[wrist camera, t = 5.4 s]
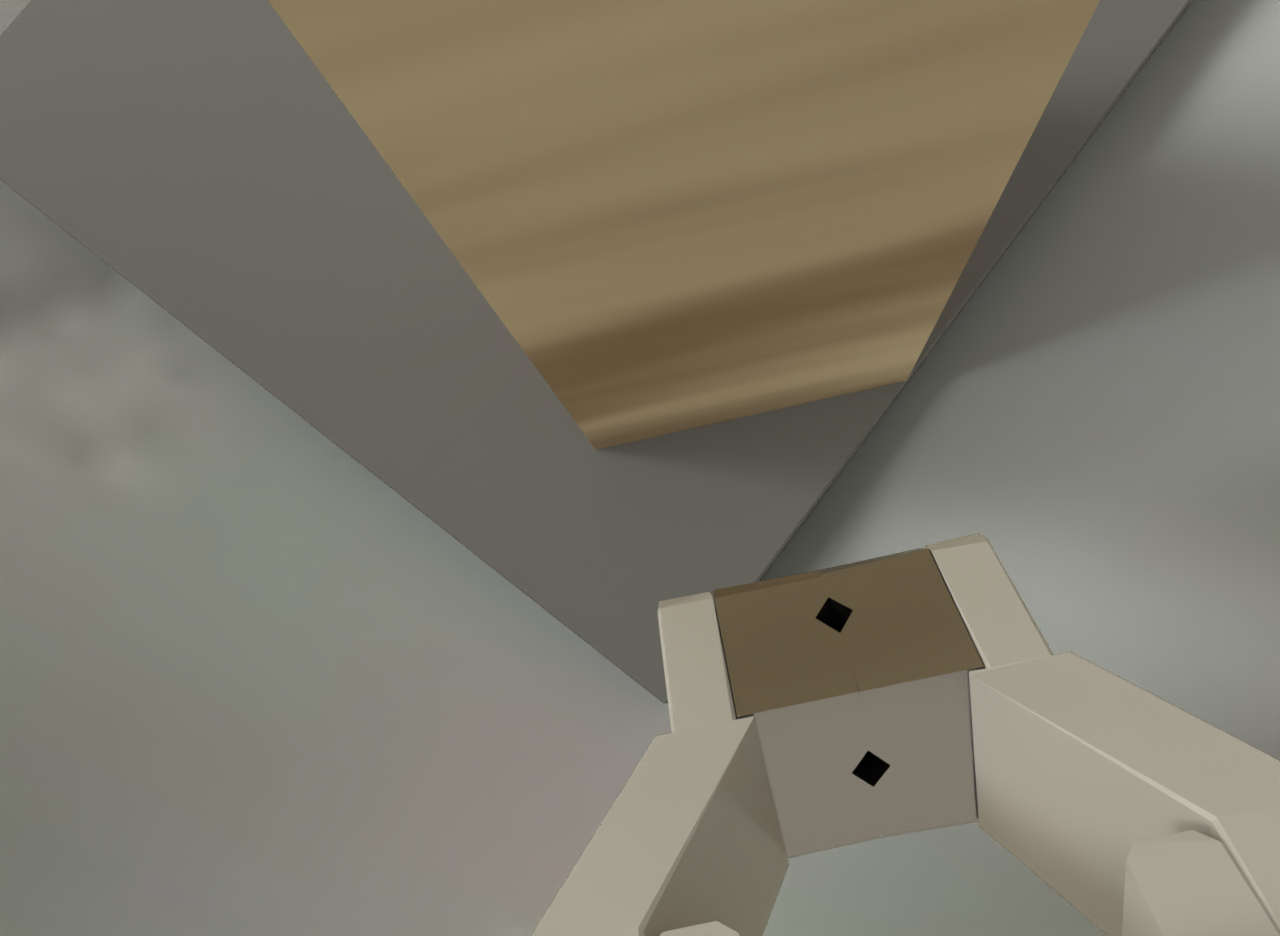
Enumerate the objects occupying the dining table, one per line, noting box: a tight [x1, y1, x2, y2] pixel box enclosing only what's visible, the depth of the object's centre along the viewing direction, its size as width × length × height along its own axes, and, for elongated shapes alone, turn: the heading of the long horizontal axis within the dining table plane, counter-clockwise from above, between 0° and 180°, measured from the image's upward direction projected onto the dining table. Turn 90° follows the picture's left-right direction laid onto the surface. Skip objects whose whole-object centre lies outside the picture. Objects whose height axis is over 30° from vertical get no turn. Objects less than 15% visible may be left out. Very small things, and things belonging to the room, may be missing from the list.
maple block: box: [268, 0, 1100, 450], centre depth 12 cm, size 5×5×12 cm
